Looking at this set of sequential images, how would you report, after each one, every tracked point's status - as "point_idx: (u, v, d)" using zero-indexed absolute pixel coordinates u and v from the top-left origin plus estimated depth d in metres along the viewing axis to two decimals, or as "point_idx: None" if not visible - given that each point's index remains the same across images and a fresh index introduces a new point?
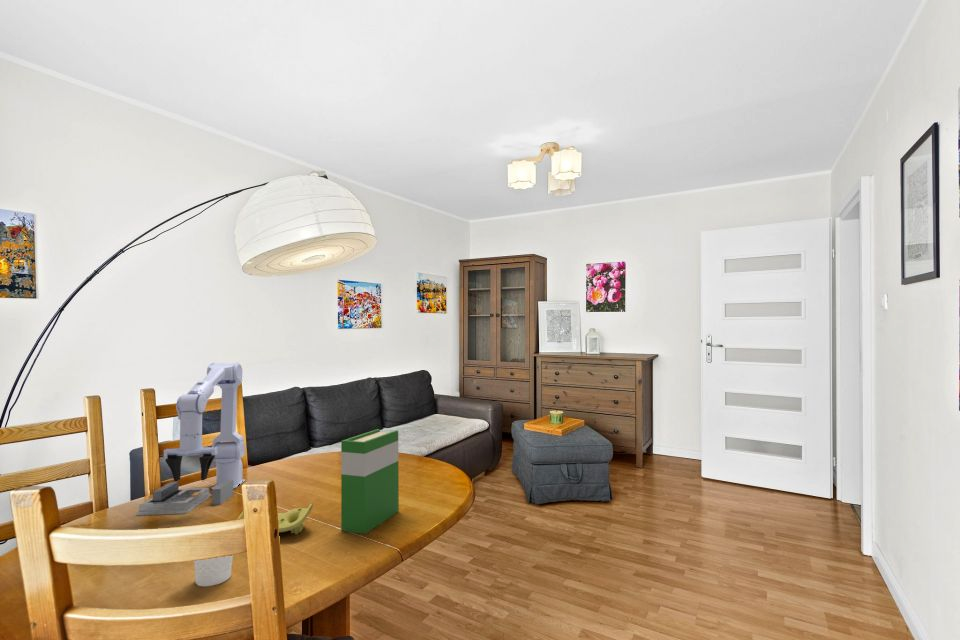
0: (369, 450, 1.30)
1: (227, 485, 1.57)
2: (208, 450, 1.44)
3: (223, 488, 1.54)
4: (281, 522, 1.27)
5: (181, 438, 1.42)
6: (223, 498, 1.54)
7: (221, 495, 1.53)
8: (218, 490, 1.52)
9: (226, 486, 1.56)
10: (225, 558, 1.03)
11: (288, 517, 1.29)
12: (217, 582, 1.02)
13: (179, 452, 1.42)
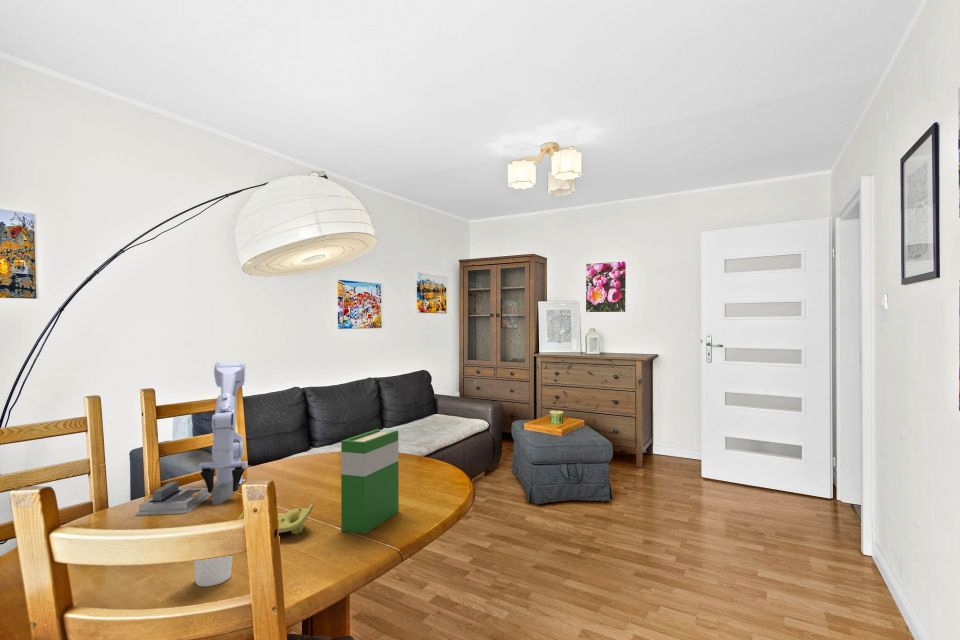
0: (369, 450, 1.30)
1: (227, 485, 1.57)
2: (239, 464, 1.56)
3: (223, 488, 1.54)
4: (281, 522, 1.27)
5: (215, 453, 1.55)
6: (223, 498, 1.54)
7: (221, 495, 1.53)
8: (218, 490, 1.52)
9: (226, 486, 1.56)
10: (225, 558, 1.03)
11: (288, 517, 1.29)
12: (217, 582, 1.02)
13: (213, 466, 1.54)
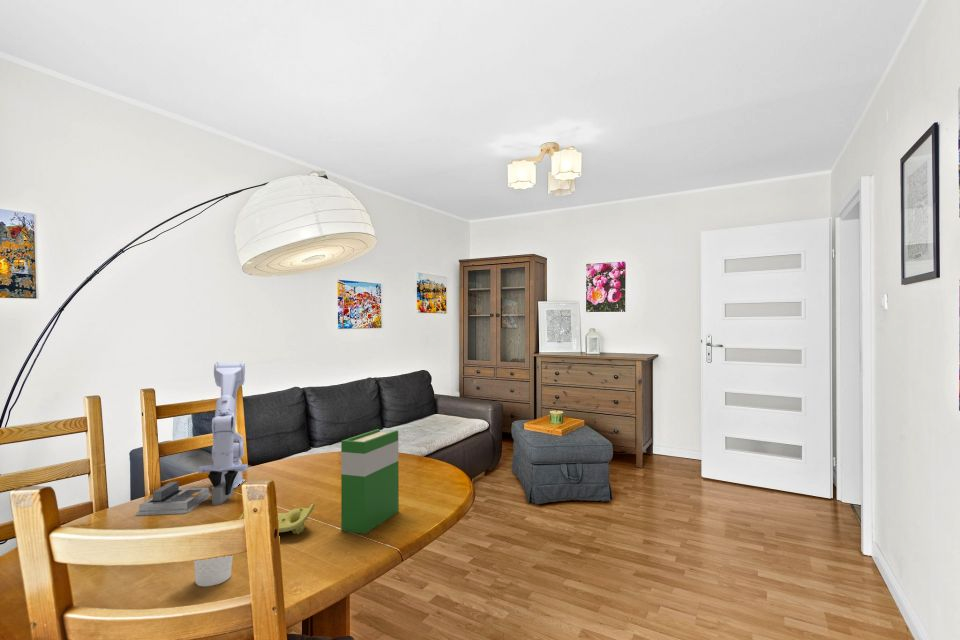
0: (369, 450, 1.30)
1: None
2: (239, 467, 1.56)
3: (223, 488, 1.54)
4: (282, 522, 1.27)
5: (215, 456, 1.55)
6: (223, 498, 1.54)
7: (221, 494, 1.53)
8: (218, 490, 1.52)
9: None
10: (225, 558, 1.03)
11: (289, 517, 1.29)
12: (217, 582, 1.02)
13: (213, 469, 1.54)
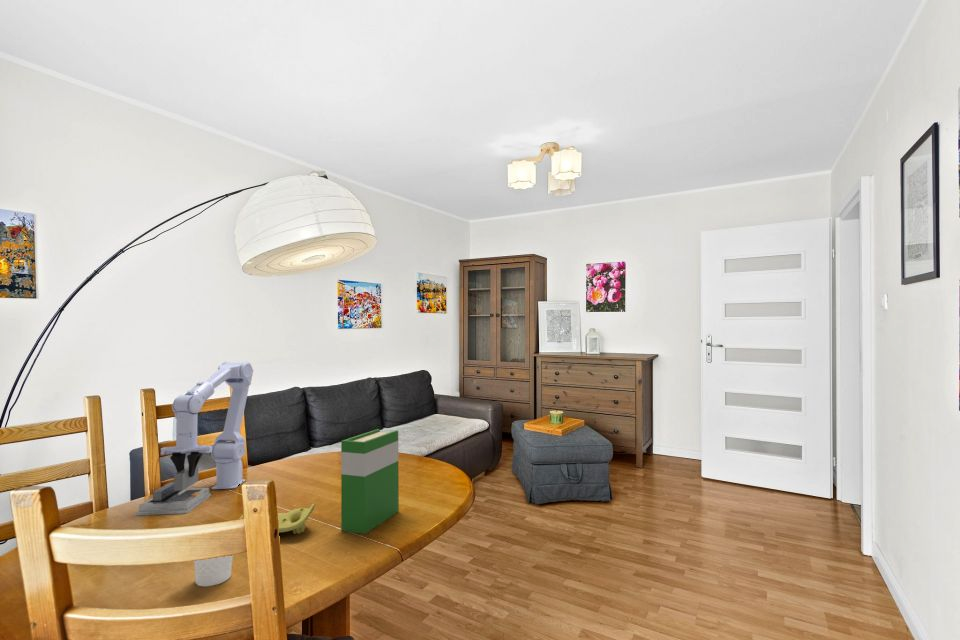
0: (369, 450, 1.30)
1: None
2: (203, 448, 1.52)
3: (186, 473, 1.50)
4: (283, 522, 1.27)
5: (177, 437, 1.50)
6: (186, 484, 1.50)
7: (184, 480, 1.48)
8: (180, 475, 1.47)
9: None
10: (225, 558, 1.03)
11: (290, 517, 1.29)
12: (217, 582, 1.02)
13: (175, 450, 1.50)
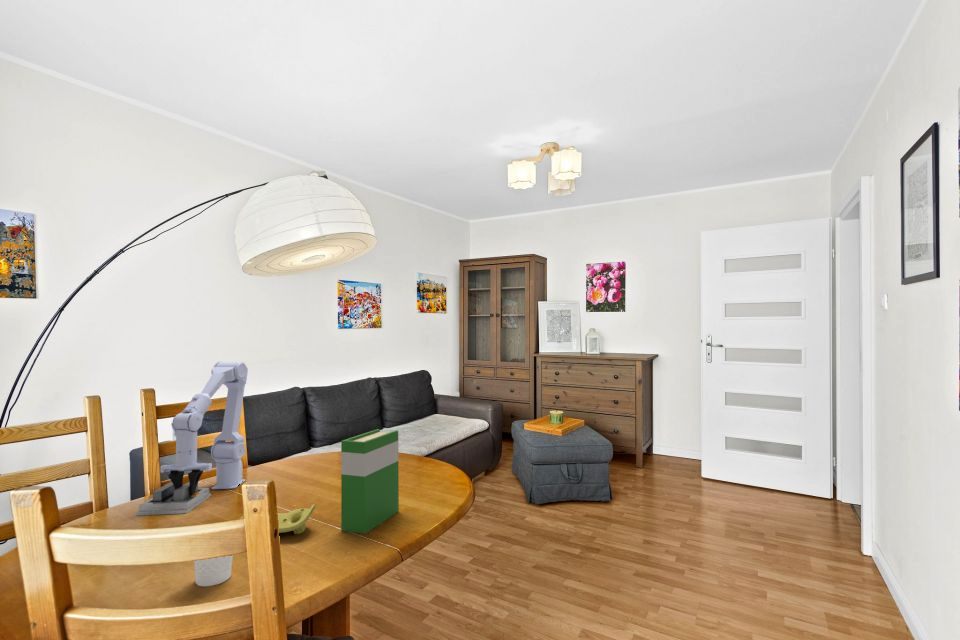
0: (369, 450, 1.30)
1: None
2: (203, 466, 1.52)
3: (186, 489, 1.49)
4: (284, 522, 1.27)
5: (177, 455, 1.50)
6: None
7: (183, 496, 1.48)
8: (180, 492, 1.47)
9: (189, 487, 1.52)
10: (225, 558, 1.03)
11: (291, 517, 1.29)
12: (217, 582, 1.02)
13: (175, 468, 1.49)
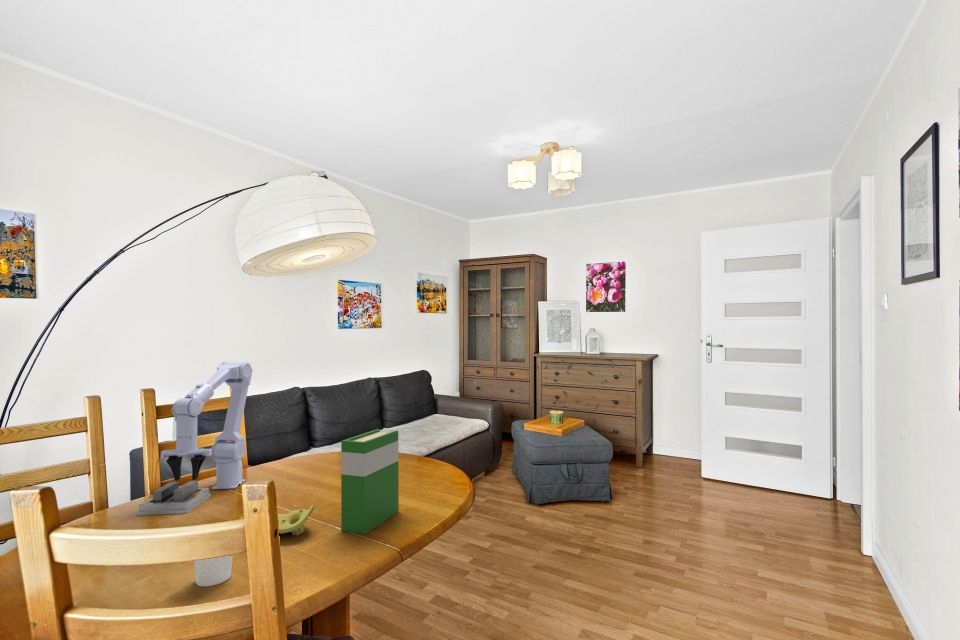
0: (369, 450, 1.30)
1: (190, 486, 1.52)
2: (203, 451, 1.52)
3: (186, 489, 1.49)
4: (282, 523, 1.26)
5: (177, 440, 1.50)
6: None
7: (183, 496, 1.48)
8: (180, 492, 1.47)
9: (189, 487, 1.52)
10: (225, 558, 1.03)
11: (289, 518, 1.28)
12: (217, 582, 1.02)
13: (175, 453, 1.50)
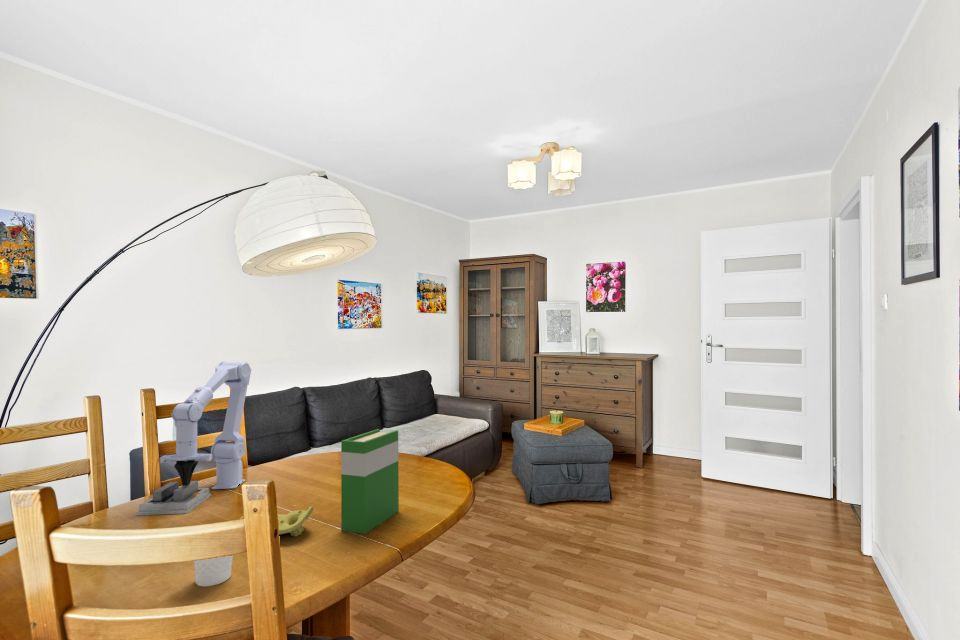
0: (369, 450, 1.30)
1: (190, 486, 1.52)
2: (203, 456, 1.52)
3: (186, 489, 1.49)
4: (281, 524, 1.26)
5: (177, 445, 1.50)
6: None
7: (183, 496, 1.48)
8: (180, 492, 1.47)
9: (189, 487, 1.52)
10: (225, 558, 1.03)
11: (288, 519, 1.27)
12: (217, 582, 1.02)
13: (175, 458, 1.50)
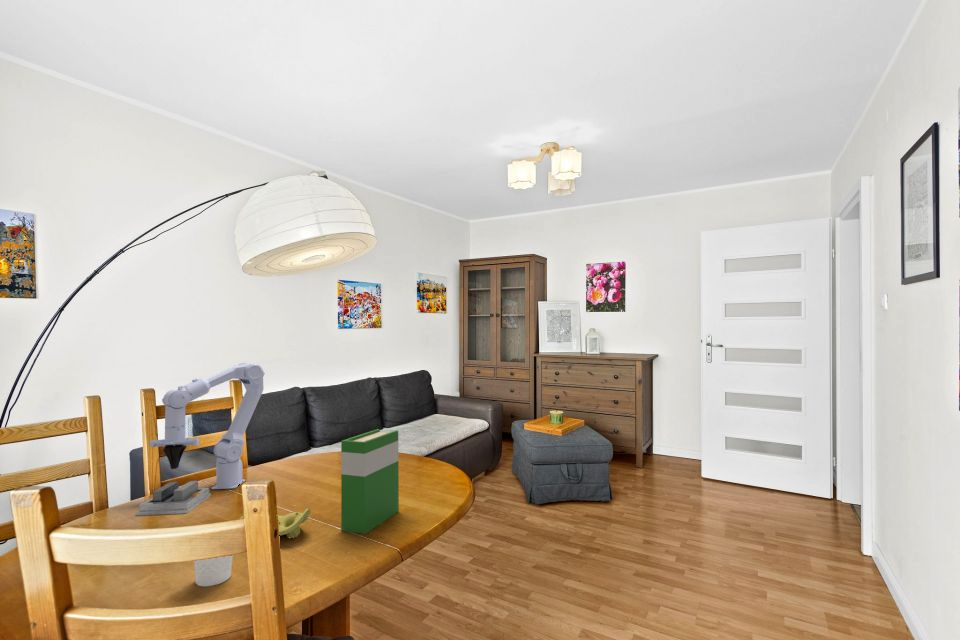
0: (369, 450, 1.30)
1: (190, 486, 1.52)
2: (190, 441, 1.58)
3: (186, 489, 1.49)
4: None
5: (166, 430, 1.56)
6: None
7: (183, 496, 1.48)
8: (180, 492, 1.47)
9: (189, 487, 1.52)
10: (225, 558, 1.03)
11: (285, 521, 1.26)
12: (217, 582, 1.02)
13: (164, 443, 1.56)
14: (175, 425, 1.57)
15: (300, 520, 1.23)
